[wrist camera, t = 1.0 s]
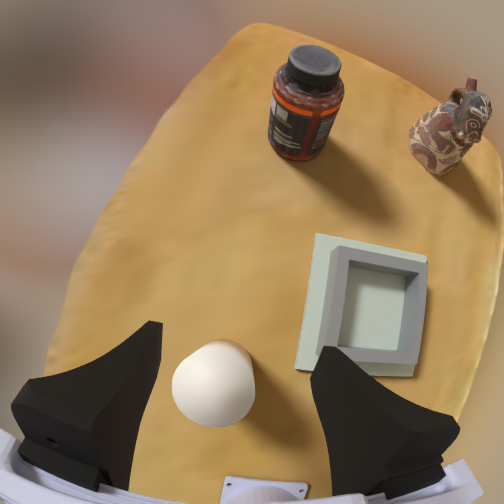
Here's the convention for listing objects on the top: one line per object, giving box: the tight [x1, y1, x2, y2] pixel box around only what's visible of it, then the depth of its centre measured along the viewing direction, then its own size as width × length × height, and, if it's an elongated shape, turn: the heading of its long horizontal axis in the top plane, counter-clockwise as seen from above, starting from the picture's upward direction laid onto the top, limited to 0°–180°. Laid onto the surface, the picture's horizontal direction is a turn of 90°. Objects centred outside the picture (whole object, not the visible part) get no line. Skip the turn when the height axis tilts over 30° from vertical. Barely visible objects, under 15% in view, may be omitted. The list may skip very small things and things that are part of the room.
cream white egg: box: [172, 339, 255, 427], centre depth 19 cm, size 5×5×8 cm
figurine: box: [408, 77, 492, 176], centre depth 23 cm, size 7×7×12 cm
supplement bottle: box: [268, 45, 344, 160], centre depth 23 cm, size 6×6×11 cm
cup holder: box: [294, 233, 428, 376], centre depth 23 cm, size 12×12×3 cm
